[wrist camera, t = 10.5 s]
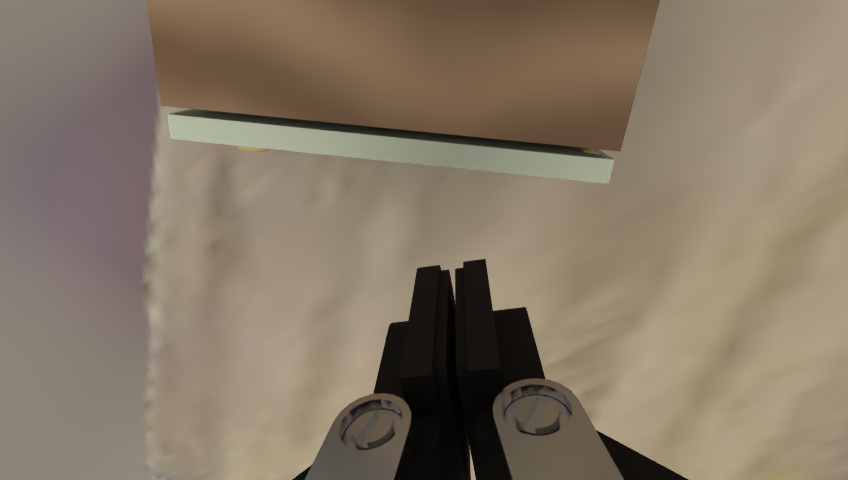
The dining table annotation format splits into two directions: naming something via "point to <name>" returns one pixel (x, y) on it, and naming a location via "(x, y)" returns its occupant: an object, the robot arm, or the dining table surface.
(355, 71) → the wooden shelf
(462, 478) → the robot arm
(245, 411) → the dining table surface
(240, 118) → the cabinet door
